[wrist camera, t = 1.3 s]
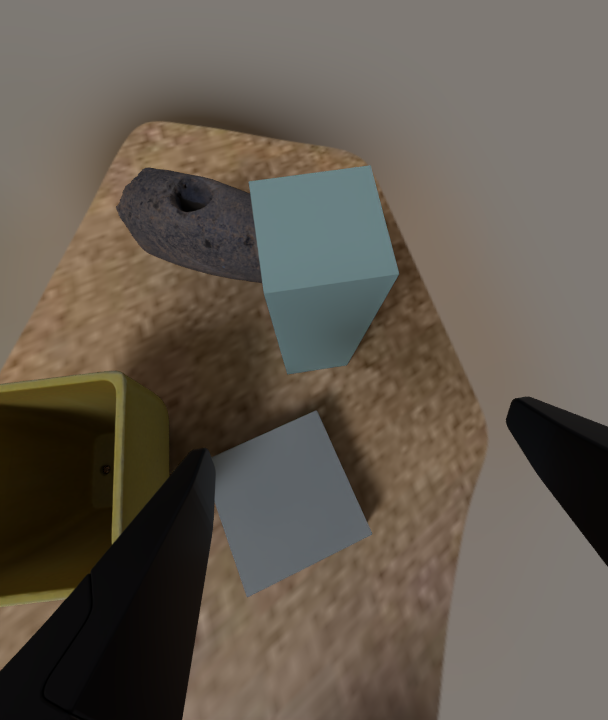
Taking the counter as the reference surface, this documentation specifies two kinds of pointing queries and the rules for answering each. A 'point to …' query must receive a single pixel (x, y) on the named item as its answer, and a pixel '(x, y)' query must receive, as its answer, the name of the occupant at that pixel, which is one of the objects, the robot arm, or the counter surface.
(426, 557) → the counter surface
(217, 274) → the perforated stone tool
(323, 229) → the pillar
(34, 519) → the flower pot
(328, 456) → the tile
